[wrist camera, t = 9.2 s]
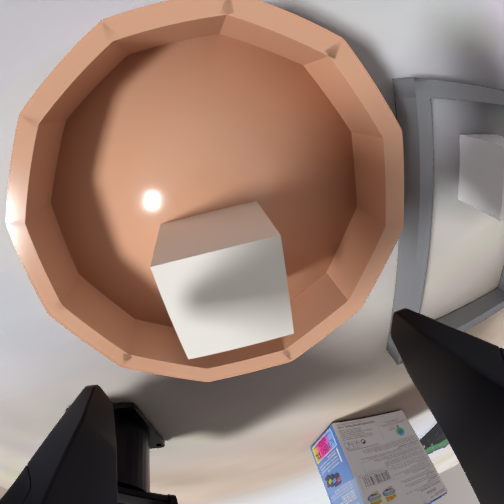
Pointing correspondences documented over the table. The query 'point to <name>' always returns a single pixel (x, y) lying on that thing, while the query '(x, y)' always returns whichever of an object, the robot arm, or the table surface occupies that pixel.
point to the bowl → (203, 172)
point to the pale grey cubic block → (482, 173)
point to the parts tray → (429, 198)
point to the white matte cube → (223, 279)
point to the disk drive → (434, 440)
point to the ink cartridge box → (376, 463)
